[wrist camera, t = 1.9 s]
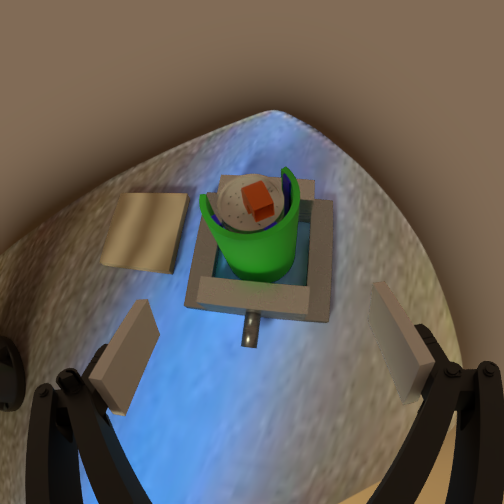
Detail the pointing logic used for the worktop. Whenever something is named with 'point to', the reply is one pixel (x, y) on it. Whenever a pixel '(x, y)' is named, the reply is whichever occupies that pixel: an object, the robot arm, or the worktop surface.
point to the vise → (258, 293)
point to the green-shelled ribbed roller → (256, 225)
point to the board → (146, 231)
